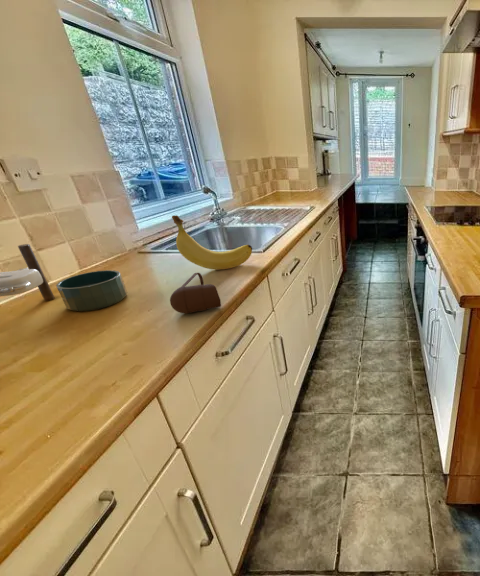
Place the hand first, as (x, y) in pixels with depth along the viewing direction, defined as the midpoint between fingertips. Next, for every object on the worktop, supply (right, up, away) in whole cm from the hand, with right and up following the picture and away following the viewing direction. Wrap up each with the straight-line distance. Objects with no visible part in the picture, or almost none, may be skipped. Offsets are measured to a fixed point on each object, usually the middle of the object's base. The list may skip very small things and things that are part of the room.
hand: (0, 274), depth 76 cm
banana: (+34, +3, +37) cm, 50 cm away
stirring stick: (-4, -7, +15) cm, 17 cm away
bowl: (+12, -7, +13) cm, 19 cm away
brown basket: (+41, -7, +13) cm, 43 cm away
